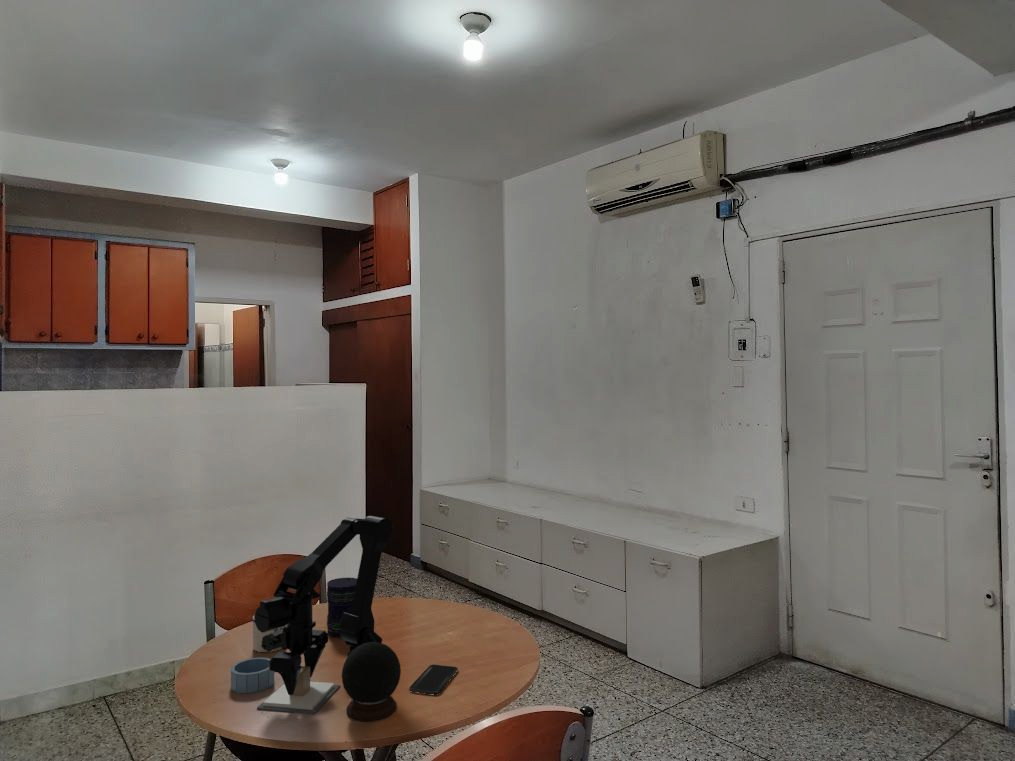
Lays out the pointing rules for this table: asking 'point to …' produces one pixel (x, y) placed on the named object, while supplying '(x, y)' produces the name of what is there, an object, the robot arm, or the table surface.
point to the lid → (300, 693)
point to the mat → (301, 709)
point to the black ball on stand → (371, 681)
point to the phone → (433, 679)
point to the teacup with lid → (258, 637)
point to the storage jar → (339, 602)
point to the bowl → (251, 675)
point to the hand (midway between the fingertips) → (300, 685)
